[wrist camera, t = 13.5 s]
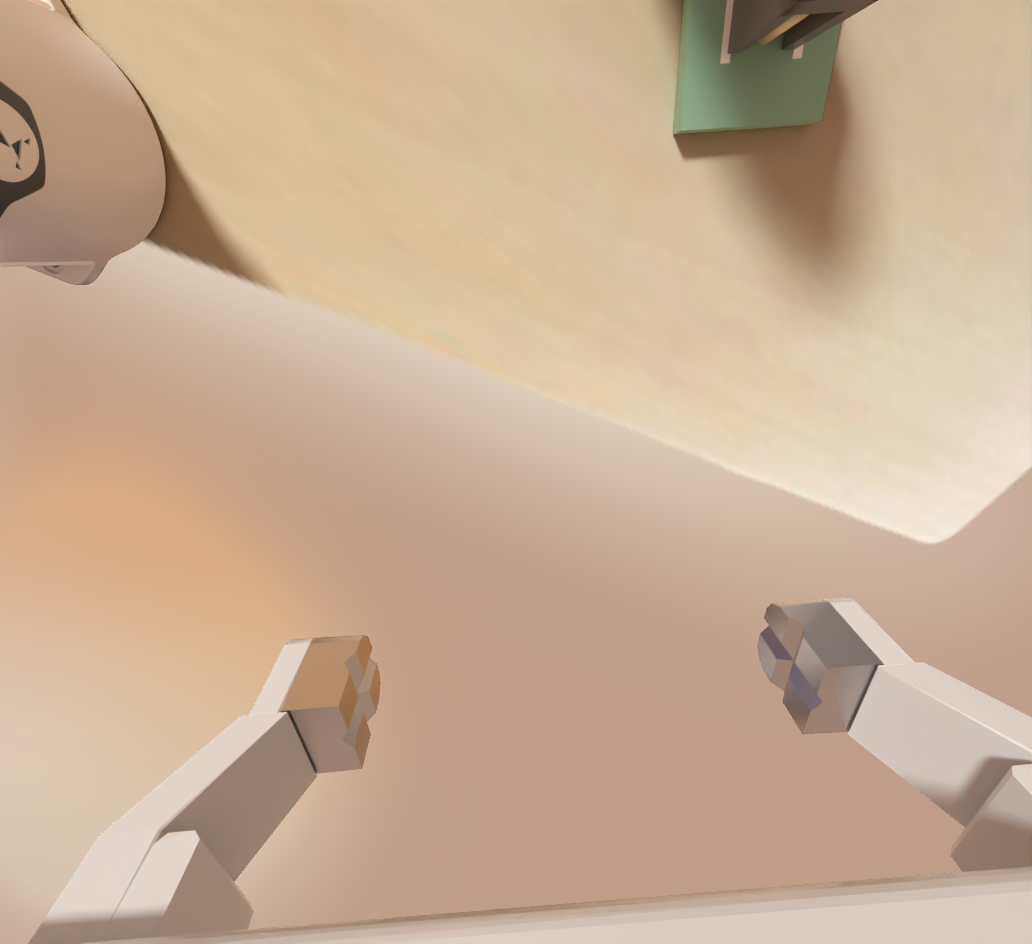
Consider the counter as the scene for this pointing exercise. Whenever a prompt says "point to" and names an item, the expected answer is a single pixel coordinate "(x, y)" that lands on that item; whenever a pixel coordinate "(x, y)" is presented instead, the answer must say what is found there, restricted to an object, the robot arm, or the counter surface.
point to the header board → (747, 75)
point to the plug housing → (771, 3)
